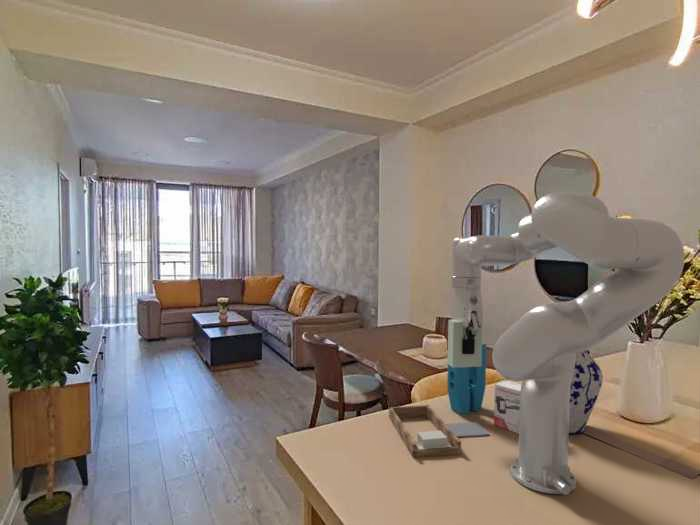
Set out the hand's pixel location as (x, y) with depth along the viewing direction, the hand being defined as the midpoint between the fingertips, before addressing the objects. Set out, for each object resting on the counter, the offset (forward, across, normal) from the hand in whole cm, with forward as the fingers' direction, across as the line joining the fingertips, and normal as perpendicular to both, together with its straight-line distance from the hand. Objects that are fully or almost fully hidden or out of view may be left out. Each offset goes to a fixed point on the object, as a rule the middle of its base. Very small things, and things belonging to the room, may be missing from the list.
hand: (464, 351), depth 110 cm
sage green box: (+4, 0, 0) cm, 4 cm away
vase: (+22, -1, -28) cm, 35 cm away
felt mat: (+22, 0, 0) cm, 22 cm away
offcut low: (+22, -9, +12) cm, 27 cm away
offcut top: (+20, -9, +12) cm, 25 cm away
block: (+22, +14, -7) cm, 27 cm away
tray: (+22, -1, +12) cm, 25 cm away
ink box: (+22, 0, -14) cm, 26 cm away
